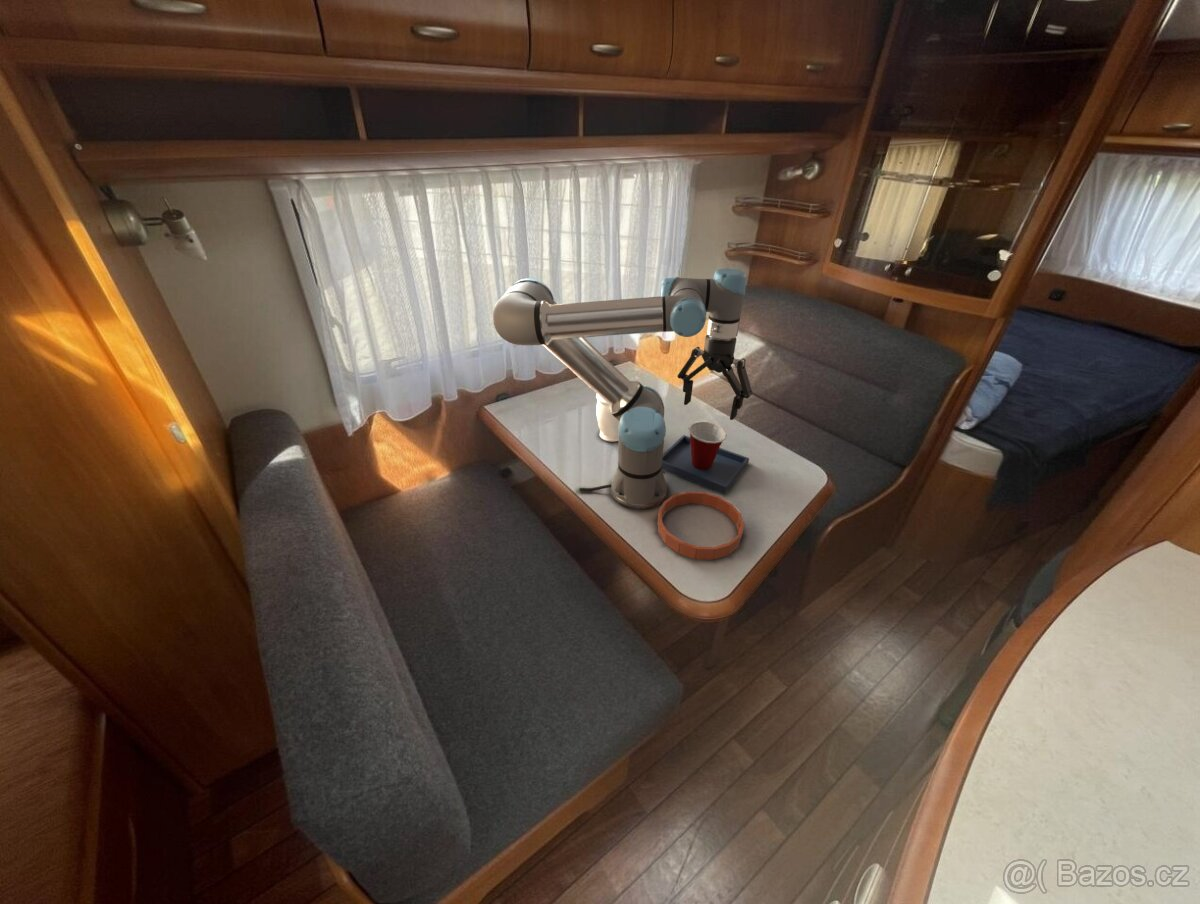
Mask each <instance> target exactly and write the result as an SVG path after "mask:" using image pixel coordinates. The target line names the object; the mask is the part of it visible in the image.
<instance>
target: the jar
mask: <svg viewBox="0 0 1200 904" xmlns="http://www.w3.org/2000/svg"><path fill="white" fill-rule="evenodd" d="M595 398H596V400H597V402H596V409H595V410H596V411H595V413H596V419H597V426H598V429H599V437H600V438H601V439H602V440H603V441H606V442H612V443H614V442H619V434H618V426H619V422H620V421H618V420H617V419H616V418H615V417H614V416H613V415H612V414H611V413H610V412H609V404H608V403H607V402H606V401H605V400H603V399H602V398H601V397H600V396H599V395H598V394H597V393H596V396H595Z"/></svg>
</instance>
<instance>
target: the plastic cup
mask: <svg viewBox="0 0 1200 904" xmlns="http://www.w3.org/2000/svg"><path fill="white" fill-rule="evenodd" d="M688 433H689V437H690V441H691V456H692V464H693V466H694V467H695V468H697V469H700V470H707V469H709V468H711V466H712V464H713V461H714V459H715V457H716V455H717V452H718V450H719V448H721V445H722V444H723V442H724V441H726V439H727V437H728V432H727V430H726V429H725V428H723V427H722V426H721V425H719V424H717V423H714V422H711V421H706V420H705V421H704V420H699V421H694V422H692V423H691V424H689V425H688Z"/></svg>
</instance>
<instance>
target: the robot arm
mask: <svg viewBox="0 0 1200 904" xmlns="http://www.w3.org/2000/svg"><path fill="white" fill-rule="evenodd" d="M746 287H747V274H746V273H745V272H744V271H742V270H741V269H736V268H729V267H728V268H719V269H716V270H715V272H714V274H713V277H712V278H692V277H679V276H676V277H666V278H663V280H662V281H661V288H660V289H661V290H660V295H659V296H649V297H648V296H647V297H635V298H621V299H611V300H609V299H607V300H597V301H584V302H571V303H569V302H568V303H557V302H556V301H555V299H554V295H553V293H552V291H551V289H550V287H548V285H546V283H544V282H543V281H541V280H540V279H536V278H528V277H527V278H523V279H522V278H521V279H519V280H518V281H516V282H514V283H512V285H510V287H508V289H507V290H506V291H505V293H504V294H503V295H502V296H501V297H500V298H499V299H498V301H496V303H495V304H494V307H493V310H492V324H493V327H494V329H495V331H496V332H497V334H498V335H499V337H501V338H502V339H503V340H504V341H506V342H507V343H509V344H512V345H515V346H543V347H544V348H546V349H547V350H548V351H549V352H550V353H551V354H552V355H553V356H554V357H556V358H557V359H558V360H559V361H560V362H561V363H562V364H563V365H564V366H566V367H567V369H569V370H570V371H571V372H572V373H573V374H575V375H576V376H577V377H578V379H580V380H581V381H582V382H584V384H585V385H586V386H587V387H589V388H590V389H591V390H592V391H593V392H595V394H596V395H597V394H598V395H599V396H600V397H601V398H602V399H603V400H605V401H606V402H607V403H608V404H609V412H610V413H611V414H612V415H613V416H614V417H615V418H616V419H617V420H618V421H620V422H619V426H618V434H619V441H618V447H617V448H618V450H617V452H618V453H617V454H618V455H617V468H616V470H615V472H614V475H613V477H612V480H611V483H610V484H605V485H599V486H594V487H579V489H578V491H579V492H595V491H599V490H604V489H610V494H611V497H613V499H614V500H615V502H617V503H618V504H620V505H621V506H624V507H627V508H630V509H637V510H644V509H645V510H646V509H651V508H653V507H656V506H658V505H659V504H661V503H663V502H664V501H665V498H666V495H667V488H668V487H667V482H666V478H665V475H666V472H667V471H666V470H664V469H662V459H663V454H664V446H665V436H666V432H667V426H666V421H665V406H664V404H665V403H664V401H663V399H662V396H661V394H660V393H659V392H658V391H657V390H656V389H654V388H653V387H651V386H648V385H644V384H642V383H641V382H640V381H639V380H630V379H628V378H627V377H626V376H625V375H624V374H623V373H622V372H621V371H620V370H619V369H618V368H617V367H615V365H614V364H613V363H611V361H610V360H609V359H607V357H605V356H604V355H603V354H602V353H601V352H600V351H599V350H598V349H597V348H596V347H594V346H593V345H592V343H590V342H589V341H588V340H587V339H586V338H594V337H596V338H597V337H609V336H625V335H638V334H639V335H641V334H652V333H653V334H655V333H669V332H674V333H675V334H676V335H678V336H680V337H683V338H691V337H694V336H696V335H698V334H699V333H700V332H701V331H702V330H703V329H704V328H705V325H706V322H707V325H706V335H705V338H704V347H703V349H701V347H699V346H696V347H695V348H693V349H692V350H691V352H690V357H689V358H688V360H687V361H686V362H685V364H684V365H683V367H682V368H681V369H680V371H679V372H678V374H677V375H676V376H677V378H678V379H679V380H680V379H681V380H682V382H683V384H682V392H683V393H684V398H683V399H684V400H683V405H684V406H687V405H688V404H690V403H691V402H692V395H693V394H692V393H693V388H694V380H693V379H692V378H694V377H695V376H697V374H699V373H700V372H702V371H703V370H704V369H706V368H707V369H708V371H711V372H713V371H714V372H716V373H719V374H722V375H723V376H724V377H725V378H726V380H727V382H728V384H729V385H730V387H731V389H732V391H733V392H734V394H735V396H734V397H733V400H732V406H731V411H730V416H729V420H730V421H733V420H734V419H736V417H737V415H738V411H739V410H740V409H741V408H742V407H743V404H744V399H749V398H750V397H751V396H752V395H753V390H752V386H751V383H750V380H749V375H748V373H747V369H746V363H747V362H746V361H747V360H746V358H744V357H742V358H741V359H739V358H735V352H736V351H735V350H736V345H737V337H738V333H739V328H740V323H741V322H740V321H741V317H742V316H741V315H742V312H743V311H742V310H743V305H744V299H745V296H746ZM707 313H708V318H707ZM700 357H701V358H702V360H703V363H701V364H700V365H699V366H698V367H696V368H695V369H694V370H692V371H691V372H690V373H689V374H687V373H688V371H689V370H690V369H691V368H692V366H693V364H694V363H695V362H696V360H697V359H699V358H700ZM732 365H734V366H735V367H734V368H735V369H736V373H737V376H736V374H735V371H734V368H733V366H732Z"/></svg>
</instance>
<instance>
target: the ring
mask: <svg viewBox="0 0 1200 904" xmlns="http://www.w3.org/2000/svg"><path fill="white" fill-rule="evenodd" d="M686 504H697V505H698V504H700V505H701V504H702V505H705V506H708V507H712V508H715V509H717V510H719V511H720V512H722V513H723V514H726V515H727V517H728V518H730V519H731V521H732V522H733V523H734V524H735V527H736V531H737V535H736V536H734V537H733V538H732V539H730V541H728V542H727V543H723V544H719V545H716V546H697V545H694V544H692V543H688V542H686V541H683V540H680V539H679V538H677V536H675V535H674V534H672V533H670V531H669V530H668V528H667V527H666V526H665V524H664V523H663V519H664V516H665V515H666V513H668V512H669V511H670V510H672V509H674V508H675V507H678V506H682V505H686ZM656 521H657V533H658V535H659V536H660V538H661V539H662V541H663V543H664V545H666V546H667V547H668V548H670V549H671V550H673V551H674V552H676V553H677V554H679V555H682V556H684V557H687V558H691V559H692V560H693V559H694V560H705V561H706V560H708V561H714V560H717V559H720V558H724V557H727V556H730V555H731V554H732V553H733V552H734V551H736V550H737V549H738V547H739V545H740V543H741V540H742V537H743V534H744V529H745V523H744V519H743V516H742V513H741V512H740V511H739V510H738V509H737V508H736V506H735V505H734V504H733V503H731V502H730V501H728V500H727V499H724V498H723V497H722V496H719V495H717V494H713V493H709V492H706V491H685V492H680V493H676V494H673V495H672V496H670V497H669V498H667V499H666V500H663V501H662V504H661V506H660V507H659V509H658V512H657V520H656Z"/></svg>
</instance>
